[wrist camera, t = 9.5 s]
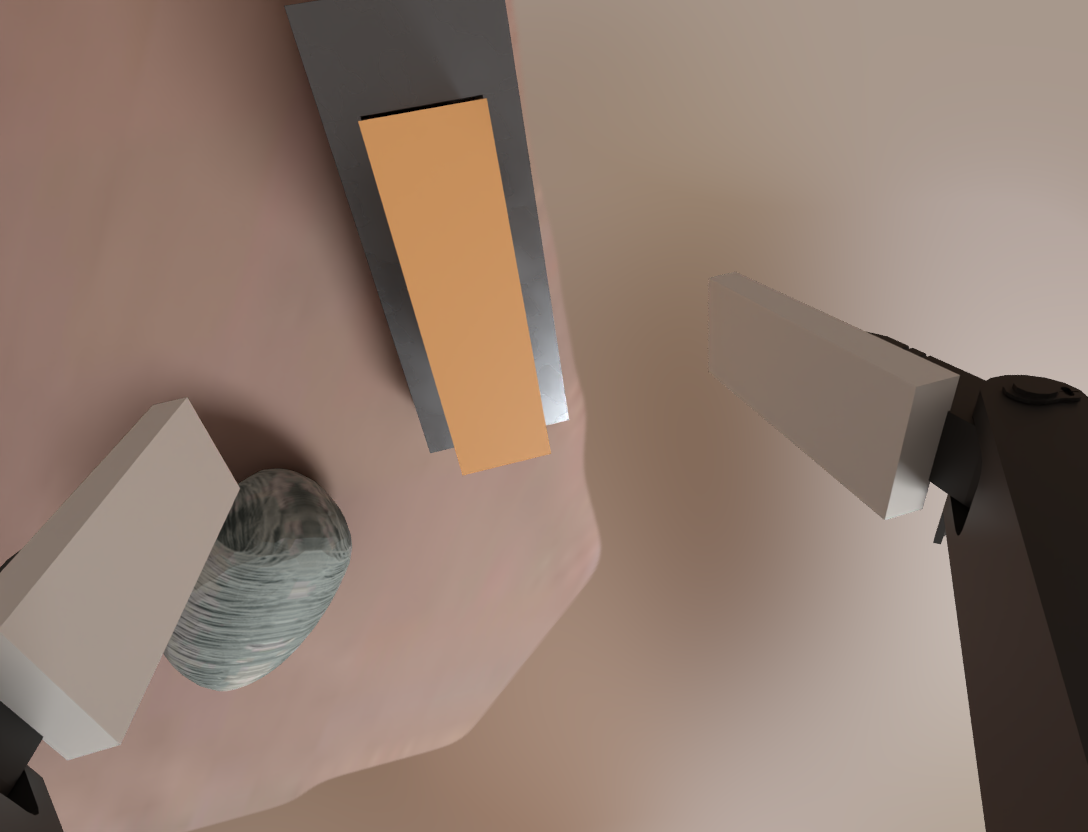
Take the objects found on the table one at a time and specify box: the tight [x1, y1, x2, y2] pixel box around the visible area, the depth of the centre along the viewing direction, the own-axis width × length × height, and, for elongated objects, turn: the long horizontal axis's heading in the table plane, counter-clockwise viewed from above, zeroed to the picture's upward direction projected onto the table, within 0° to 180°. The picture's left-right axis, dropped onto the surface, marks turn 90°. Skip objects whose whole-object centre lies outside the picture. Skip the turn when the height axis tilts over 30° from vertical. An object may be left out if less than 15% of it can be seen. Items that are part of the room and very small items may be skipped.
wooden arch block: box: [358, 98, 551, 475], centre depth 22 cm, size 4×12×12 cm, turn 9°
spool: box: [164, 469, 352, 691], centre depth 31 cm, size 14×10×10 cm
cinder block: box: [284, 0, 569, 453], centre depth 26 cm, size 8×20×4 cm, turn 9°
